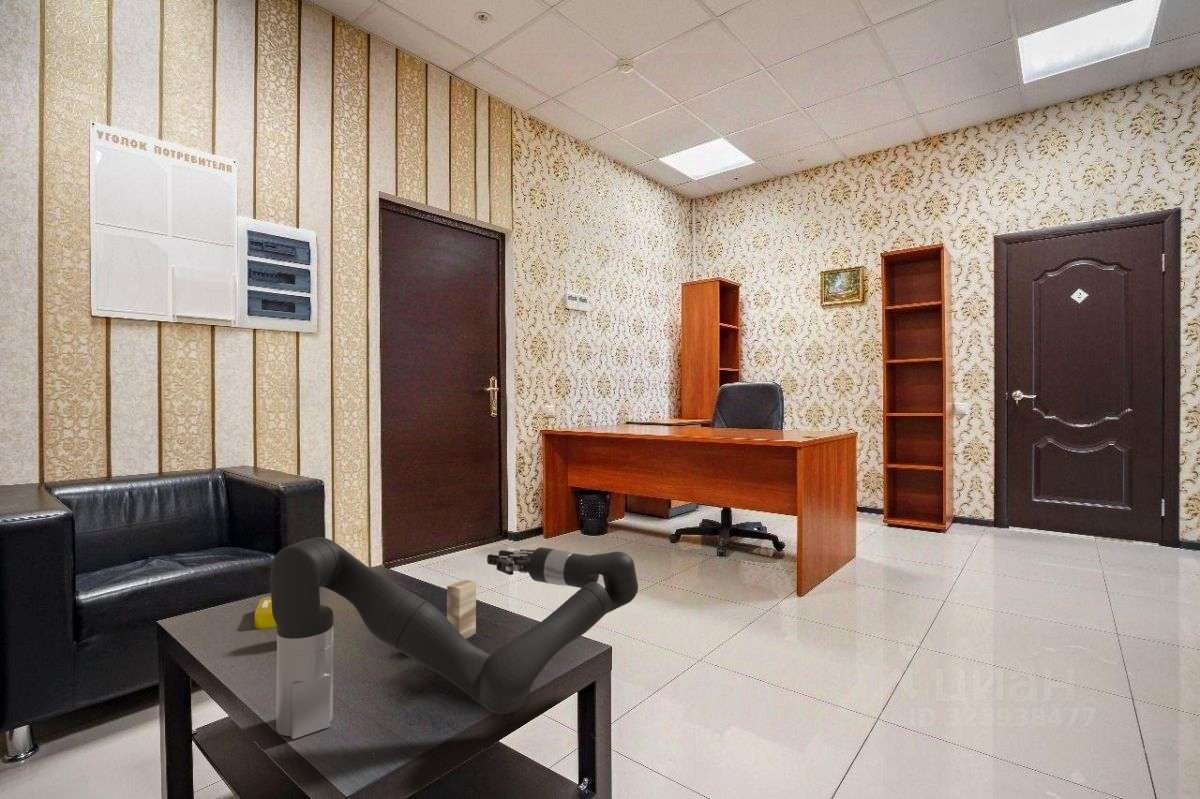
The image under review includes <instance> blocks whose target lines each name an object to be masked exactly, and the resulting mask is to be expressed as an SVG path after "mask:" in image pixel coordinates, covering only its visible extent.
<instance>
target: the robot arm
mask: <svg viewBox="0 0 1200 799" xmlns="http://www.w3.org/2000/svg"><path fill="white" fill-rule="evenodd" d="M486 562H487V564H488V565H492V566H496V570H497V571H499V572H501V573H504V574H506V575H508V576H512V575H514V572H519V573H522V574H527V573H528V574H529V576H530V578H531V579H532V580H533V581H534V582H538V583H545V584H548V585H549V584H550V585H556V586H562V587H563V586H566V587H573V588H579V590H577V591H576V592H575V593H574V594H573V595H571V596H570V597H569V598H568V599H567V600H565V602H563V603H562V604H561V605H560V606H558V607H557V608H556V609H555V610H554V611H553V612H551V614H549V615H547V617H546V618H543V620H541V621H540V622H538V623H537V624H536V625H534V626H533V627H531V628H530V629H528V630H527V631H525V632H524V633H522V634H520V635H518V636H517V637H515V638H513V639H511V640H510V641H508V642H507V643H505V644H503V645H502V646H500V647H498V648H497V649H495V650H494V651H492V652H491V653H488V652H487V651H485V650H483V649H481V648H480V647H478V646H476V645H475V644H473V643H471V642H470V641H467V640H466V639H465V638H464V637H463V636H462V635H461V634H460V633H459V632H458V630H457V629H456V628H455V627H454V626H453V625H452V623H451V622H450V621H449V620H448V619H447V616H445V615H444V614H443V613H442V612H441V611H440V610H439V609H438V608H437V607H436V606H434V605H433V604H432V603H431V602H428V601H427V600H425V599H424V598H421V597H420V596H419V595H417V594H415V593H414V592H411V591H410V590H408V589H406V588H404V587H402V586H400V585H398V584H397V583H395V582H394V581H393V580H390V579H389V578H387V577H385V576H384V575H383V574H381V573H378V572H377V571H375V570H373V569H372V568H370V567H369V566H367V565H366V564H365V563H363V562H362V561H360V559H359V558H357V557H355V555H353V554H351V552H349V551H348V550H346V549H345V548H344V547H342V546H341V545H340V544H338V543H336V542H335V541H333V540H331V539H329V538H327V537H323V536H315V537H310V538H307V539H304V540H301V541H299V542H295V543H293V544H289V545H288V546H286V547H283V548H282V549H280V550H279V551H278V552H277V553H276V555H275V556H274V558H273V560H272V563H271V569H270V596H271V602H272V614H273V618H274V620H275V622H276V625H277V627H276V683H275V685H276V689H275V690H276V696H275V697H276V699H275V700H276V701H275V702H276V703H275V705H276V706H275V707H276V708H275V710H276V712H275V715H276V716H275V717H276V718H275V720H276V721H275V723H276V724H275V726H276V727H275V730H276V732H277V733H278V734H279V735H281V736H283V735H284V736H283V737H289V736H290V738H291V740H295V739H298V738H301V737H303V736H307V735H310V734H313V733H315V732H319V731H322V730H324V729H327V728H328V729H329V728H330V727H331V722H332V720H333V716H334V713H333V712H334V708H333V705H334V701H333V700H334V625H335V624H334V621H335V620H334V611H333V609H332V608H331V607H330V606H327V605H322V604H321V593H320V590H321V587H322V588H325V589H328V590H330V591H331V592H334V593H336V594H338V595H339V596H341V597H342V598H344V599H346V600H347V601H348V602H349V603H351V605H352V606H354V609H356V611H357V612H358V614H359V616H360V618H361V619H362V621H363V623H364V625H365V626H366V628H367V629H368V630H369V631H370V633H371V634H372V635H373V636H375V637H376V639H378V640H380V641H381V642H383V643H385V644H386V645H388V646H389V647H392V648H393V649H394V650H396V651H398V652H399V653H400V654H404V655H405V656H407V657H409V658H411V659H412V660H414V661H415V662H418V663H419V664H421V665H422V666H424V667H426V668H428V669H429V670H431V671H433V672H435V673H437V674H438V675H440V676H442V677H444V678H445V679H446V680H448V681H450V682H451V683H452V684H454V685H455V686H457V688H459V689H460V690H462V691H463V692H464V693H465V694H467V695H468V696H470V698H472V699H473V700H475V702H477V703H478V704H480V705H481V706H483V708H485V709H486V710H488V711H490V712H491V713H495V714H497V715H498V714H499V715H508V714H511V713H514V712H516V711H518V710H519V709H520V708H521V707H522V706H523V704H524V703H525V701H526V700H527V698H528V695H529V694H530V692H531V689H532V687H533V685H534V681H535V680H536V679H537V677H538V676H539V675H540V673H541V672H542V671H543V670H544V669H545V667H546V666H547V664H548V663H549V662H550V661H551V660H552V658H554V656H556V655H557V654H558V653H559V652H560V651H561V650H562V649H563V648H564V647H567V646H568V645H569V644H570V643H571V644H572V642H574V641H576V640H577V639H579V638H580V637H582V636H583V635H584V634H585V633H587V632H589V630H591V629H592V627H593V626H594V625H596V624H597V623H598V622H599V621H600V620H601V619H602V618H603V617H604V616H605V615H606V614H609V613H611V612H614V611H615V610H616V609H619V608H622V607H623V606H626V605H627V604H630V603H631V602H632V601H633V600H634V599H635V597H636V596H637V594H638V591H639V585H638V584H639V583H638V582H639V581H638V578H637V572H636V566H635V561H634V560H633V558H632V557H631V556H630V555H629V554H627V553H626V552H624V551H623V552H622V551H610V552H606V553H597V554H590V555H587V554H580V553H574V552H570V551H567V550H562V549H555V548H549V547H537V548H536V549H524V548H523V549H519V551H518V550H514V551H510V550H503V549H501V550H499V551H498V554H492V553H489V554H488V555H487V556H486ZM600 575H601V576H602V580H603V584H604V585H601V584H600V583H599V582H598V581H599V578H600Z"/></svg>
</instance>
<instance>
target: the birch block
mask: <svg viewBox="0 0 1200 799" xmlns="http://www.w3.org/2000/svg"><path fill="white" fill-rule="evenodd" d="M446 618H447V619H448V620H449V621H450V622H451V623H452V625H453V626H454V627H455V628H456V629H457V630H458V632H459V633H460V634H461V635H462V636H463V637H464V638H465V639H467V638H469V637H471V636H472V635H474V634H476V635H477V581H476V580H475V581H474V580H469V579H461V580H458V581H456V582H454V583H452V584H451V583H450V584H449V585H447V586H446Z"/></svg>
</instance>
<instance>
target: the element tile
mask: <svg viewBox="0 0 1200 799" xmlns="http://www.w3.org/2000/svg"><path fill="white" fill-rule="evenodd" d="M271 628H277V625H276V622H275V620H274V618H273V614H272V602H271V595H270V596H264V597H262V598H261V599H259V602H258V604H257V607H256V610H255V612H254V629H255V630H265V629H271Z"/></svg>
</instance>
